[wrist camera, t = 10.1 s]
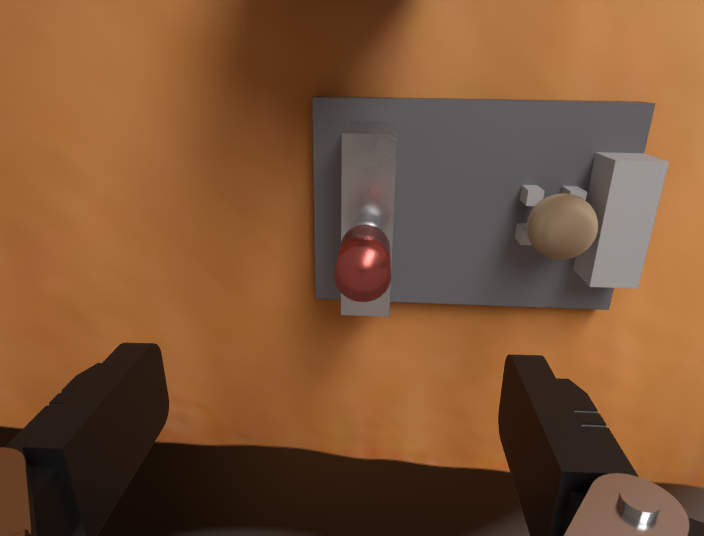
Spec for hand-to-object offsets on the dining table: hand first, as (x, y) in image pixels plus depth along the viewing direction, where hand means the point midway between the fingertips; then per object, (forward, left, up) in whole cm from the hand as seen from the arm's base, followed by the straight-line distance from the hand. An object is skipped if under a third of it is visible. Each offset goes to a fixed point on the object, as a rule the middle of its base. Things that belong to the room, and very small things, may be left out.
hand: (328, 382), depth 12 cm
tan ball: (-12, +2, -20) cm, 24 cm away
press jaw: (0, +2, -23) cm, 23 cm away
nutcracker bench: (-7, +2, -25) cm, 26 cm away
